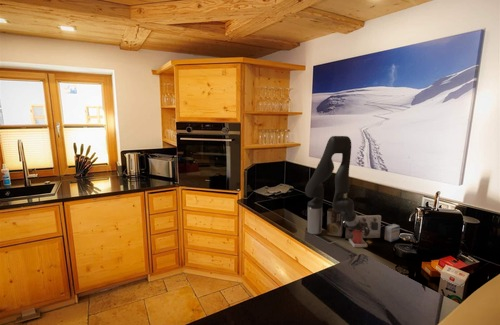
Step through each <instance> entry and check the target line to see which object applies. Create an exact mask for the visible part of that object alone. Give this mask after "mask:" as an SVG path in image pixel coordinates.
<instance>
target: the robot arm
mask: <svg viewBox="0 0 500 325" xmlns="http://www.w3.org/2000/svg"><path fill="white" fill-rule="evenodd" d="M335 154H341V156H342V157H341V162H340V164H339V167H338V169H337V171H336V173H335V176H334V188H335V190H334V196H333V200H332V203H331V204H332V208H333V209H334V210H335V211H337V212H341V216H342V227H344V228H345V229H346V228H348V229H349V231H350V232H352V231H353V230H358V231H359V232H362V233H364V235H365V236H368V235H369V233H370V229H369V228H368V226H365V227H364V226H362V225H361V222H360V220H359V218H358V216H359V215H357V212H356V211H355V202H354V200H353V199H351V198H348V197H347V198H345V197H341V196H342V195H344V194H345V195H346V194H348V193H349V192H350V178H349V177H350V166H351V165H350V164H351V157H352V140H351V138H350V136H347V135H332V136H330V137H329V139H328V140H327V143H326V146H325V148H324V151H323V154H322V157H320V161H319V162H318V164H317V166H316V168H315V170H314V172H313V174H312V176H311V178H310V179H309V180H308V182H307V183H306V186H305V188H304V193H305V196H307V197H308V198H313V199H311V200H309V201H307V233H308V234H311V235H321V234H322V231H323V229H322V228H323V227H322V226H323V204H324V195H325V187H324V185H323V183H324V182H326V181H327V180H328V179H330V177H331V176H332V174H333V172H334V170H335V163H334V162H333V159H332V158H333V156H334V155H335ZM363 230H364V231H363Z"/></svg>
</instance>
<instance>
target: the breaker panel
mask: <svg viewBox="0 0 500 325" xmlns="http://www.w3.org/2000/svg"><path fill="white" fill-rule="evenodd" d="M357 216H358V218H359V220H360V222H361V225H362V226H364V227H365V226H368V228H369V229H370V233H369V235H368V236H365V235H364V233H362V239H374V238H375V239H378V238H379V239H380V238H381V229H382V228H381V226H382V215H380V214H376V215H375V214H374V215H371V214H370V215H357ZM363 231H364V230H363ZM344 237H345V239H347V240H349V239H353V231H352V232H350V231H349V229H348V228H345V235H344Z"/></svg>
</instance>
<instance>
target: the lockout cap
mask: <svg viewBox="0 0 500 325" xmlns="http://www.w3.org/2000/svg"><path fill="white" fill-rule="evenodd" d="M352 239H353V243H354V244H361V241H362V239H363V238H362V232H359V231H358V230H353V238H352Z"/></svg>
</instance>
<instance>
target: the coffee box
mask: <svg viewBox="0 0 500 325" xmlns="http://www.w3.org/2000/svg"><path fill="white" fill-rule="evenodd" d="M326 213H327V214H326V215H327V216H326V221H327V222H326V235H328V236H334V237H335V236H336V237H342V235H343V217H342V216H341V212H337V211H335V210H334V209H333V207H332V208H331V207H328V209H327V211H326Z"/></svg>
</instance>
